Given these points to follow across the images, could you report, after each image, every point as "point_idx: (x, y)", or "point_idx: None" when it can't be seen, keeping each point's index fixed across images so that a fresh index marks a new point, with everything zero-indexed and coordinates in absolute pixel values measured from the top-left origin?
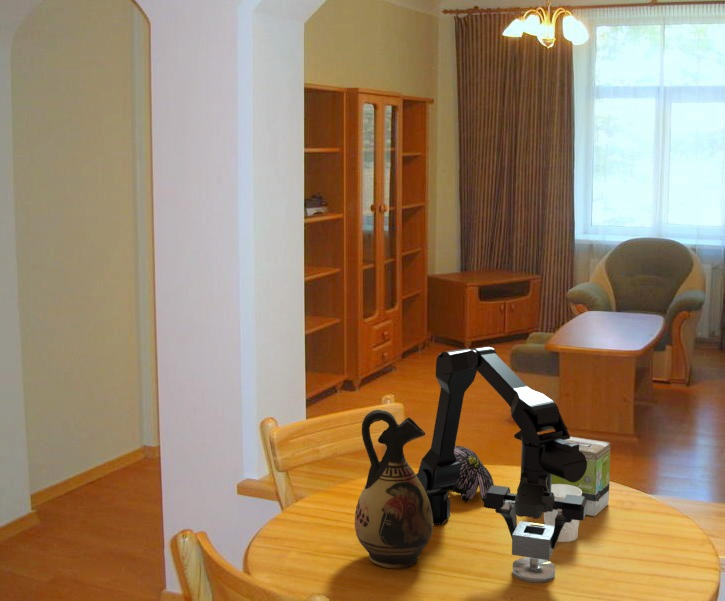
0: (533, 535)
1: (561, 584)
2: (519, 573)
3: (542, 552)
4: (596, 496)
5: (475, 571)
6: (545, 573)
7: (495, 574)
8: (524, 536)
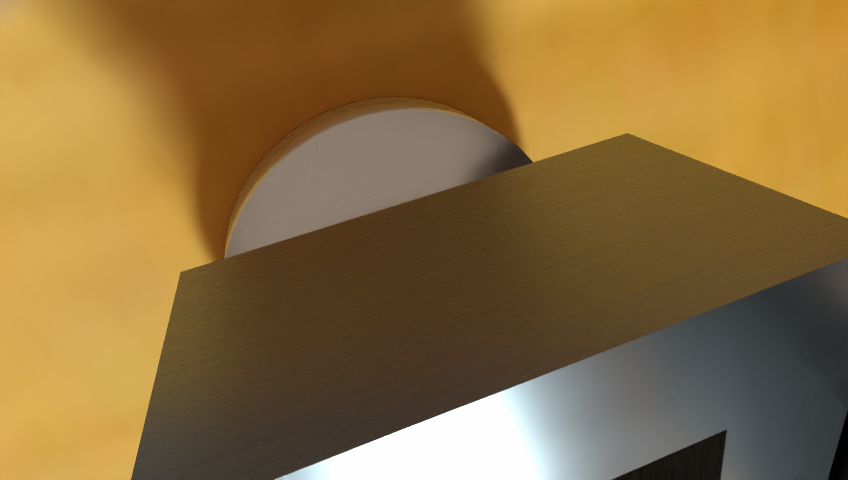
0: (538, 461)
1: (108, 230)
2: (460, 114)
3: (274, 290)
4: None
5: (745, 41)
6: (258, 229)
7: (618, 79)
8: (684, 318)
